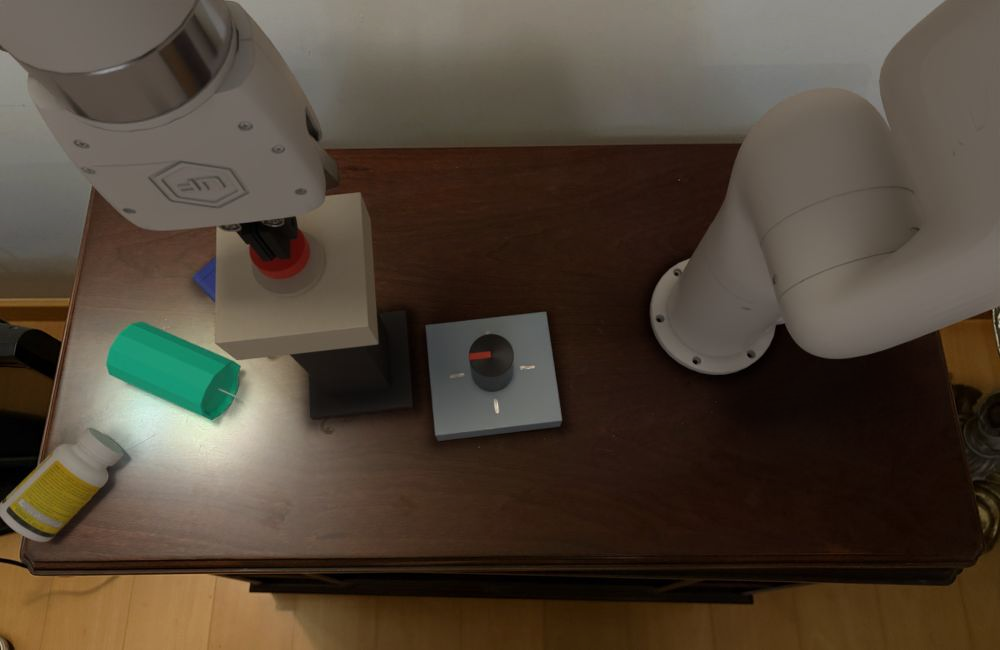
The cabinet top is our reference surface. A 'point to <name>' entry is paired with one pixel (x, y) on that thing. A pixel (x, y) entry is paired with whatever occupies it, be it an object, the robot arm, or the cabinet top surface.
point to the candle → (174, 369)
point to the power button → (285, 260)
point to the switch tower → (319, 314)
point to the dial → (491, 362)
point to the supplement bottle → (60, 486)
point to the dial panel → (502, 411)
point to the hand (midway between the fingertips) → (277, 238)
